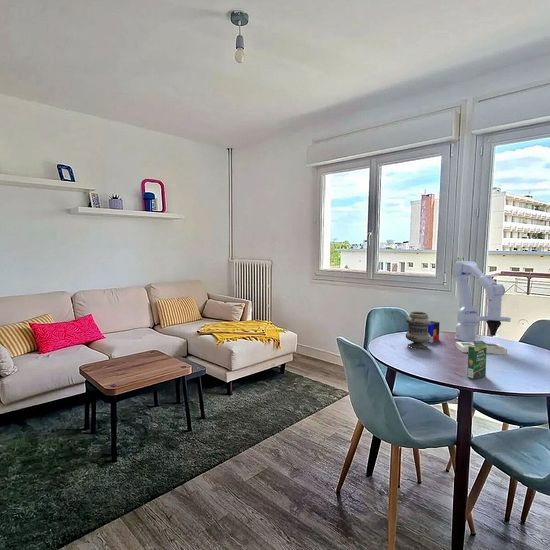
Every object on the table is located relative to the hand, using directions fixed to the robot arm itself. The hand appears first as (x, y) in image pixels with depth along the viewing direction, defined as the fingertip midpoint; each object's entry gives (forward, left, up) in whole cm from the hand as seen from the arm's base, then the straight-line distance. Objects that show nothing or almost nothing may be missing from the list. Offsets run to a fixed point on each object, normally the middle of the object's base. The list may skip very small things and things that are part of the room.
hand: (492, 335), depth 177 cm
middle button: (-3, -5, -6) cm, 8 cm away
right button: (0, 0, -8) cm, 8 cm away
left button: (-6, -10, -8) cm, 14 cm away
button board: (-2, -6, -8) cm, 10 cm away
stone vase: (-18, -31, -8) cm, 36 cm away
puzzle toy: (-28, -16, -8) cm, 33 cm away
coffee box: (+24, -40, -8) cm, 47 cm away
